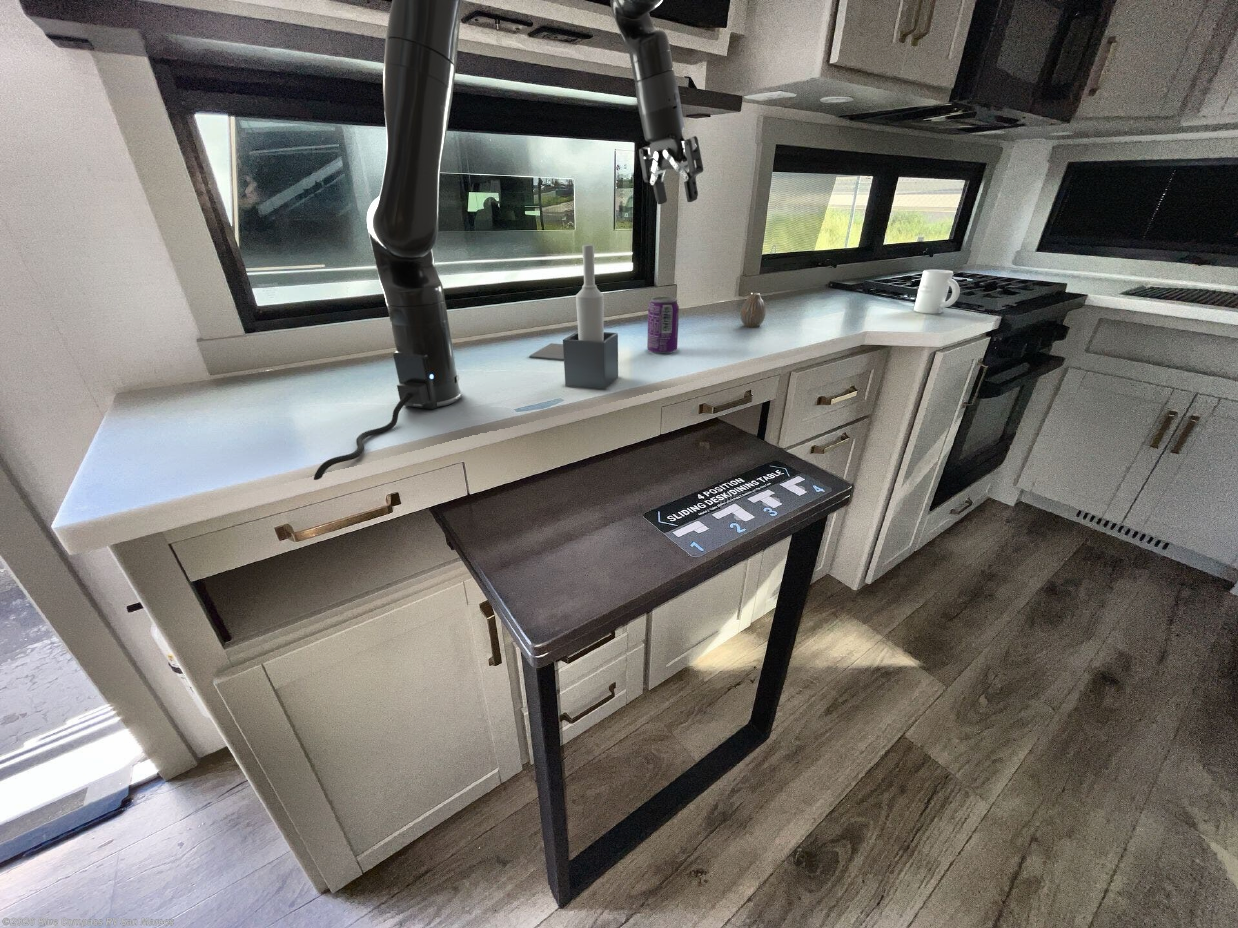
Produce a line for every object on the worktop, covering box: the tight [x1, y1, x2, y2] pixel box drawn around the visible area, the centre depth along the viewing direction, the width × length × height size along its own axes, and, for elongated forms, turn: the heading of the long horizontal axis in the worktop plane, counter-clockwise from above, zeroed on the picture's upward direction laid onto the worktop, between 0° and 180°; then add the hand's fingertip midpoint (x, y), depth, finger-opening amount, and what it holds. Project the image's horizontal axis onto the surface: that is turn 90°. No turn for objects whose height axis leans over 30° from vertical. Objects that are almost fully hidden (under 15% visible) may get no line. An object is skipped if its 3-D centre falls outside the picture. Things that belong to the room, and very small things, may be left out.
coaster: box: [528, 343, 564, 362], centre depth 120 cm, size 12×12×1 cm
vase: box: [740, 292, 767, 328], centre depth 142 cm, size 7×7×9 cm
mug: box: [913, 269, 961, 315], centre depth 156 cm, size 8×12×12 cm
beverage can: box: [646, 296, 680, 355], centre depth 118 cm, size 7×7×12 cm
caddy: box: [562, 330, 619, 391], centre depth 99 cm, size 8×8×9 cm
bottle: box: [575, 244, 605, 342], centre depth 95 cm, size 5×5×25 cm
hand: (677, 202), depth 101 cm, fingers open, 8 cm apart
